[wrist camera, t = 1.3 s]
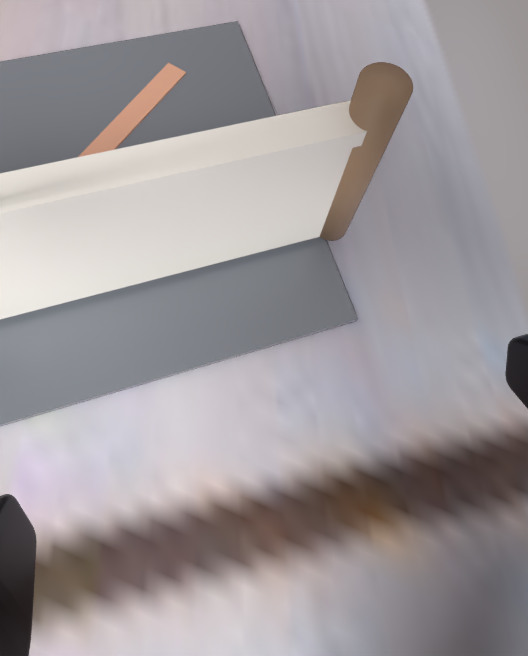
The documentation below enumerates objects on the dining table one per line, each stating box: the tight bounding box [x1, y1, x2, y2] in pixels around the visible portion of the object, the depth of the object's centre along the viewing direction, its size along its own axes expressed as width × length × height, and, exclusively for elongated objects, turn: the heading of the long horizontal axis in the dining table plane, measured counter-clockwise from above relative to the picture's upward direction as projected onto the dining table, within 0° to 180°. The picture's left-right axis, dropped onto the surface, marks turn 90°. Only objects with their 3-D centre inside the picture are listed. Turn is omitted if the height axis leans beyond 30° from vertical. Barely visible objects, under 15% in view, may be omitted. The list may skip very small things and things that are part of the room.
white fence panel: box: [0, 62, 413, 319], centre depth 17 cm, size 19×2×9 cm, turn 108°
